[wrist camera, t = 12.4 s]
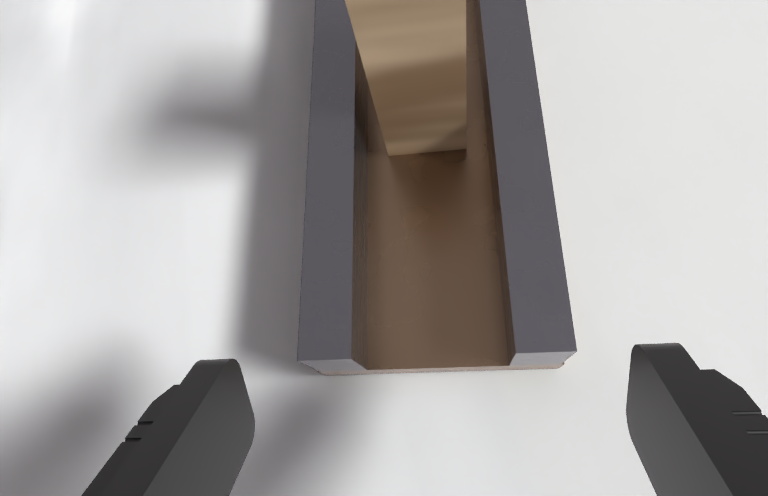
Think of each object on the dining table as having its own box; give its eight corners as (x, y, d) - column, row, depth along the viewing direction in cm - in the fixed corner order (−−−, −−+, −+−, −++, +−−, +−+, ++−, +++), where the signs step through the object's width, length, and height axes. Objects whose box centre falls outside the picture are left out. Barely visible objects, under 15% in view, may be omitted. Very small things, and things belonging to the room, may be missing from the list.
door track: (559, 368, 17) (580, 351, 13) (325, 375, 18) (293, 361, 15) (502, -61, 24) (507, -139, 21) (338, -37, 25) (318, -107, 22)
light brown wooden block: (466, 148, 19) (465, -126, 10) (388, 156, 19) (316, -101, 10) (460, 72, 20) (454, -234, 11) (387, 80, 21) (322, -209, 12)
